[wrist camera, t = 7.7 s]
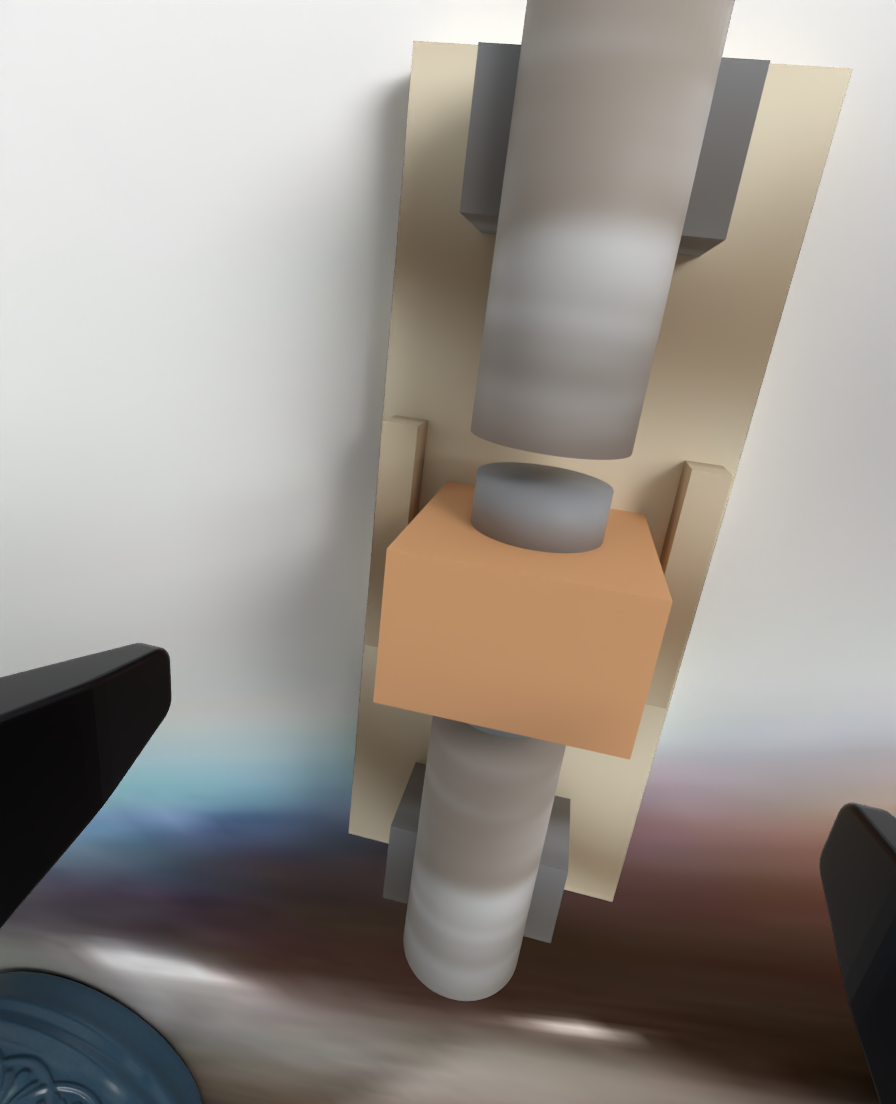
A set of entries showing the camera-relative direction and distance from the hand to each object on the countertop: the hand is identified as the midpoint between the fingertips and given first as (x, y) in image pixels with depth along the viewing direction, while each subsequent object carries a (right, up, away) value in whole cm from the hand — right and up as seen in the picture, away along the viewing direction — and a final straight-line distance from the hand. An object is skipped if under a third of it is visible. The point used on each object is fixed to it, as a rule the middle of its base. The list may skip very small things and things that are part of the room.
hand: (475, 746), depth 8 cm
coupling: (+2, +2, +7) cm, 8 cm away
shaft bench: (+2, +3, +8) cm, 9 cm away
